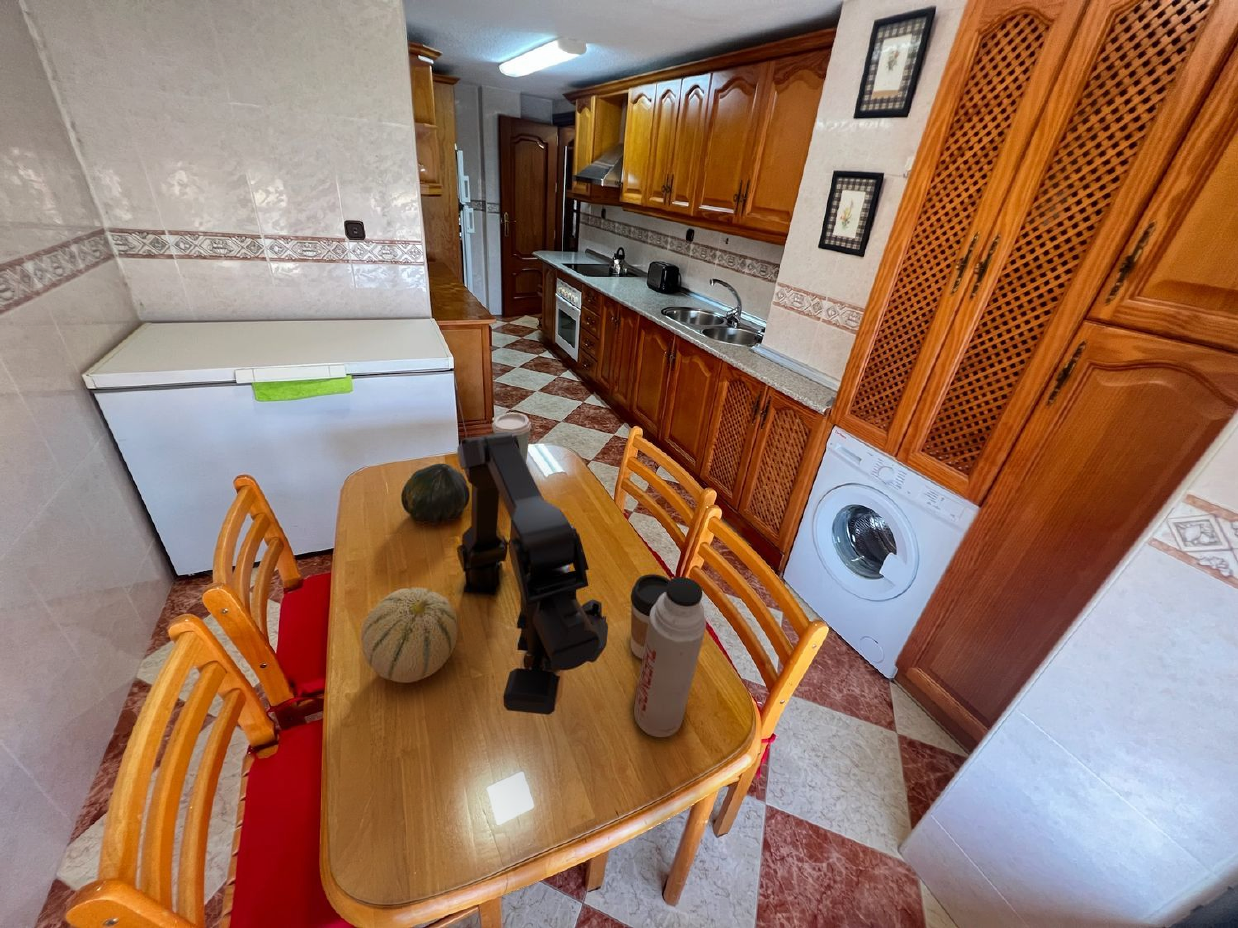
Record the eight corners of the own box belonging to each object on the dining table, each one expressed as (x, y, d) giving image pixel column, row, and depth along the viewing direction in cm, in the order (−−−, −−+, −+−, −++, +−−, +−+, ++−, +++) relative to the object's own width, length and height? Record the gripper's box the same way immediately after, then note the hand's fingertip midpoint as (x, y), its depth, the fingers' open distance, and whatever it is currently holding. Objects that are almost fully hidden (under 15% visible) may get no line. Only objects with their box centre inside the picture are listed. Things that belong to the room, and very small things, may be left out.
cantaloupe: (370, 639, 88) (354, 577, 81) (456, 620, 93) (449, 560, 86) (368, 713, 77) (349, 649, 69) (466, 686, 82) (458, 624, 74)
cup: (517, 707, 69) (516, 675, 66) (526, 670, 75) (525, 639, 71) (559, 712, 69) (560, 680, 66) (565, 674, 75) (567, 643, 71)
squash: (388, 486, 119) (400, 463, 108) (448, 470, 129) (464, 447, 117) (410, 540, 117) (425, 523, 106) (468, 519, 127) (488, 501, 115)
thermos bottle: (636, 738, 77) (659, 611, 63) (631, 691, 84) (651, 567, 70) (686, 736, 78) (720, 611, 64) (677, 690, 85) (706, 568, 70)
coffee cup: (637, 672, 87) (647, 612, 79) (616, 636, 93) (623, 578, 86) (677, 656, 91) (690, 597, 83) (654, 623, 97) (664, 565, 89)
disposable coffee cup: (519, 480, 136) (518, 431, 129) (486, 470, 139) (483, 422, 131) (538, 462, 145) (538, 416, 137) (506, 453, 148) (504, 408, 140)
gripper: (599, 675, 55) (591, 753, 63) (611, 561, 71) (603, 635, 79) (500, 665, 55) (504, 744, 63) (534, 553, 71) (534, 627, 79)
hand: (542, 681), depth 71 cm, fingers closed on cup, 6 cm apart
